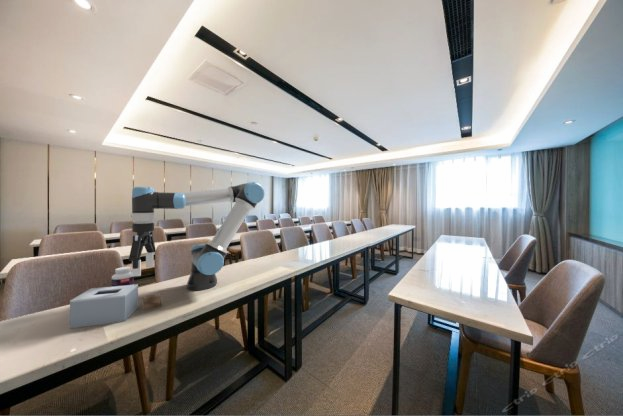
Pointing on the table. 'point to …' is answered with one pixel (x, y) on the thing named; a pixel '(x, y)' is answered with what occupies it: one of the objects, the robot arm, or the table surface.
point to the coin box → (103, 305)
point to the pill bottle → (122, 277)
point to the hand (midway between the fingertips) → (143, 271)
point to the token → (152, 301)
